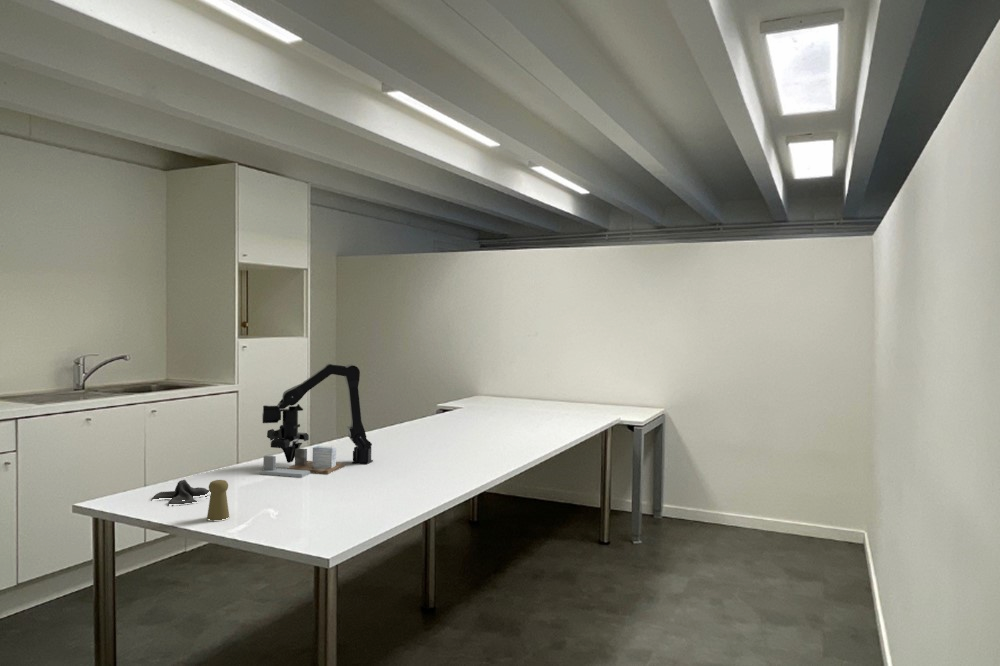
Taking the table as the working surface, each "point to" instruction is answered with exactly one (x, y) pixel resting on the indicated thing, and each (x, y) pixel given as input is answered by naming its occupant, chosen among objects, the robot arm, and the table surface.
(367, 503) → the table surface
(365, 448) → the robot arm
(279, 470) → the grey strip
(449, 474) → the table surface
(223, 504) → the cork
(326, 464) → the medicine box
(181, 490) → the cloth
